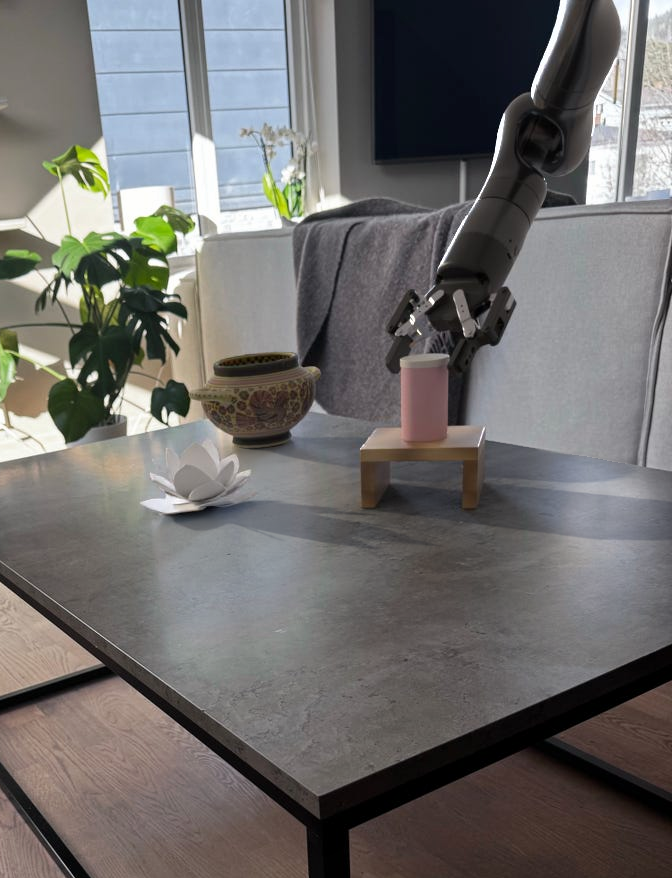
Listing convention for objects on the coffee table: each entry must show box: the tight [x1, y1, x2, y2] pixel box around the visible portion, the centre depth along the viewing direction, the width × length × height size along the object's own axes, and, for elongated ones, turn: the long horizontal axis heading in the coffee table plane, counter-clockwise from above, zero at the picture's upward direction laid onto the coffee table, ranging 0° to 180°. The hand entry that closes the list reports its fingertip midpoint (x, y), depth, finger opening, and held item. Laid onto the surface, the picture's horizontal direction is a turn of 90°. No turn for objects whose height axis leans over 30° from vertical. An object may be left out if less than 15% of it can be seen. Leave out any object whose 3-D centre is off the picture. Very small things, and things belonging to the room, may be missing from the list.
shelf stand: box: [359, 424, 487, 510], centre depth 108 cm, size 13×11×7 cm
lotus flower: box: [139, 437, 260, 516], centre depth 114 cm, size 14×15×9 cm
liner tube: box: [400, 352, 450, 442], centre depth 105 cm, size 5×5×9 cm
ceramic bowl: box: [188, 351, 322, 449], centre depth 142 cm, size 24×18×15 cm
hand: (421, 371), depth 103 cm, fingers open, 8 cm apart
